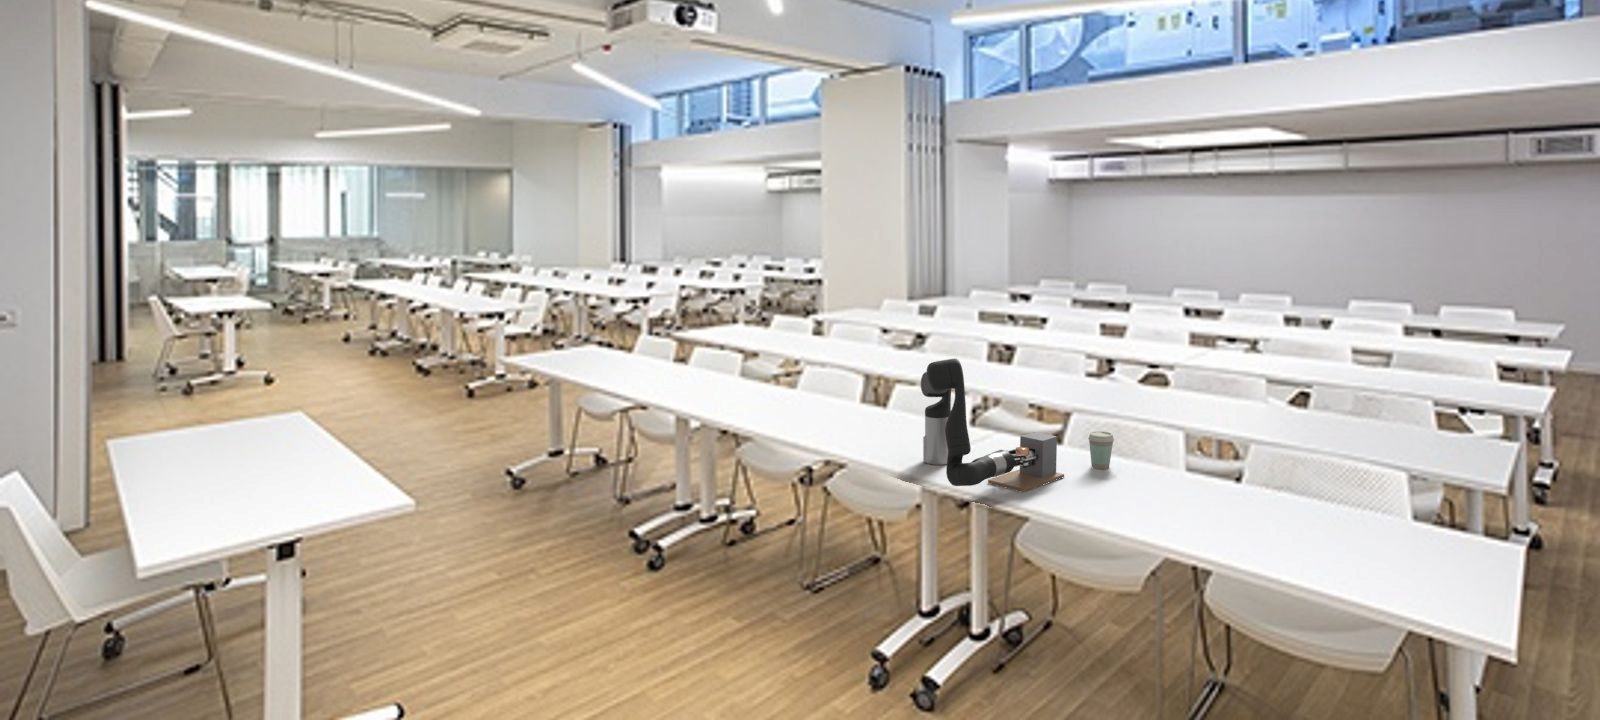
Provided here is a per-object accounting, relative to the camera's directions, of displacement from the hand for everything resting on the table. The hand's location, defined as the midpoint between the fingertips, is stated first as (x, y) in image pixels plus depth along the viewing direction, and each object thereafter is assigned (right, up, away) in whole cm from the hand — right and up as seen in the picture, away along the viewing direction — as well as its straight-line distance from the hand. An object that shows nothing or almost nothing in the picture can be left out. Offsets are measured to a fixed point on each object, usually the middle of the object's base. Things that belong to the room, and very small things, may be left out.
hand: (1026, 454), depth 302 cm
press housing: (0, -9, +2) cm, 9 cm away
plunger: (+2, -2, +2) cm, 3 cm away
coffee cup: (+30, -6, +15) cm, 34 cm away
